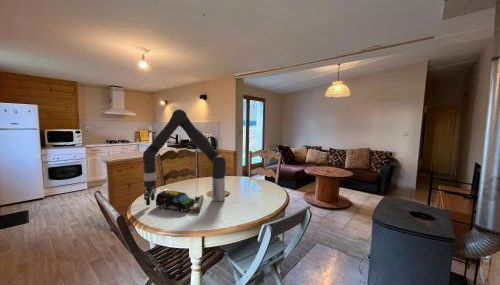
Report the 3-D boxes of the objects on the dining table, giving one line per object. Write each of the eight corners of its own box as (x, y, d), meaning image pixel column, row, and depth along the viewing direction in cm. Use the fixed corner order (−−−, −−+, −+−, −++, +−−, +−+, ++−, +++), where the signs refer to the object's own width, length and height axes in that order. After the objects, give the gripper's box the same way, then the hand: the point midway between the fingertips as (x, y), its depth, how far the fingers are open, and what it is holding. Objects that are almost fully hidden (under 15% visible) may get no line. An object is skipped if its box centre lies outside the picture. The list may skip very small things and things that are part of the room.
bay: (203, 200, 151) (203, 195, 151) (199, 212, 131) (199, 206, 130) (195, 200, 151) (195, 195, 150) (190, 213, 130) (189, 207, 129)
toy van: (186, 213, 129) (185, 198, 128) (154, 208, 137) (154, 193, 136) (195, 207, 139) (195, 193, 138) (166, 202, 147) (165, 188, 146)
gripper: (152, 182, 128) (152, 206, 130) (159, 176, 142) (159, 198, 144) (139, 182, 128) (140, 207, 129) (148, 176, 142) (148, 198, 143)
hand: (150, 202), depth 137 cm, fingers open, 8 cm apart
